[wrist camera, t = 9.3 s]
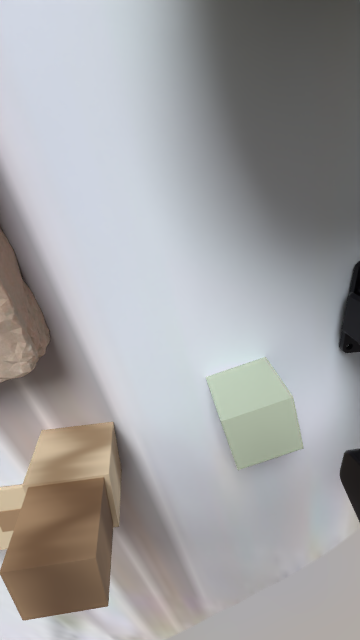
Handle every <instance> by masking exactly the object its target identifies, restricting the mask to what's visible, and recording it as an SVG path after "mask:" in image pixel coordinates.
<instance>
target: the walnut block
mask: <svg viewBox="0 0 360 640" xmlns="http://www.w3.org/2000/svg"><path fill="white" fill-rule="evenodd" d="M112 537H113V519H112V514H111V509H110V505H109V500H108V495H107V490H106V485H105V480H104V477H102V478H94V479H87V480H79V481H71V482H64V483H56V484H49V485H41V486H34V487H28V489H27V492H26V495H25V498H24V501H23V504H22V507H21V510H20V513H19V516H18V519H17V522H16V525H15V528H14V531H13V534H12V537H11V540H10V543H9V546H8V549H7V552H6V555H5V558H4V561H3V564H2V567H1V570H0V575H1V577H2V579H3V581H4V583H5V585H6V587H7V589H8V591H9V593H10V595H11V597H12V599H13V601H14V603H15V605H16V607H17V609H18V612H19V614H20V616H21V618H22V620H29V619H35V618H41V617H47V616H53V615H59V614H65V613H71V612H77V611H83V610H89V609H95V608H101V607H107V606H108V601H109V585H110V569H111V553H112Z"/></svg>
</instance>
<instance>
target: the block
mask: <svg viewBox="0 0 360 640" xmlns="http://www.w3.org/2000/svg"><path fill="white" fill-rule="evenodd" d="M206 379H207V382H208V385H209V388H210V391H211V394H212V397H213V400H214V403H215V406H216V409H217V412H218V415H219V418H220V421H221V424H222V427H223V429H224V432H225V435H226V438H227V441H228V444H229V446H230V449H231V452H232V455H233V458H234V461H235V463H236V466H237V469H238V470H240V469H243V468H246V467H249V466H252V465H255V464H258V463H261V462H264V461H267V460H270V459H273V458H276V457H279V456H282V455H285V454H288V453H291V452H294V451H297V450H300V449H303V443H302V438H301V433H300V428H299V424H298V419H297V414H296V409H295V404H294V399H293V396H292V395H291V393H290V392H289V390H288V389H287V387H286V386H285V385H284V383H283V382H282V380H281V379H280V377H279V376H278V374H277V373H276V371H275V370H274V369H273V367H272V366H271V364H270V363H269V361H268V360H267V358H266V357H264V358H261V359H258V360H255V361H252V362H249V363H246V364H243V365H240V366H237V367H234V368H231V369H228V370H225V371H223V372H220V373H217V374H214V375H211V376H208V377H206Z"/></svg>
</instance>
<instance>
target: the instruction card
mask: <svg viewBox="0 0 360 640" xmlns="http://www.w3.org/2000/svg"><path fill="white" fill-rule="evenodd" d="M22 485H23V484H21V485H13V486H6V487H0V550H3V549H8V546H9V543H10V540H11V537H12V534H13V531H14V528H15V525H16V522H17V519H18V516H19V513H20V510H21V507H22V504H23V501H24V498H25V492H24V489H23V487H22Z"/></svg>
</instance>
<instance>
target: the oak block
mask: <svg viewBox="0 0 360 640" xmlns="http://www.w3.org/2000/svg"><path fill="white" fill-rule="evenodd" d="M121 472H122V470H121V464H120V458H119V452H118V447H117V441H116V435H115V429H114V423H113V422H107V423H99V424H91V425H82V426H74V427H66V428H57V429H49V430H42V431H41V434H40V437H39V440H38V442H37V445H36V448H35V451H34V454H33V457H32V459H31V462H30V465H29V468H28V471H27V474H26V476H25V479H24V482H23V485H22V487H23V489H24V492H25V495H26V492H27V489H28V487H34V486H41V485H49V484H56V483H64V482H71V481H79V480H87V479H94V478H102V477H104V480H105V485H106V490H107V495H108V500H109V505H110V509H111V514H112V519H113V527H119V516H120V494H121Z"/></svg>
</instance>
